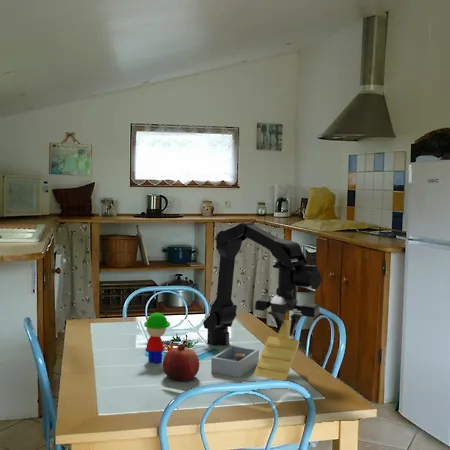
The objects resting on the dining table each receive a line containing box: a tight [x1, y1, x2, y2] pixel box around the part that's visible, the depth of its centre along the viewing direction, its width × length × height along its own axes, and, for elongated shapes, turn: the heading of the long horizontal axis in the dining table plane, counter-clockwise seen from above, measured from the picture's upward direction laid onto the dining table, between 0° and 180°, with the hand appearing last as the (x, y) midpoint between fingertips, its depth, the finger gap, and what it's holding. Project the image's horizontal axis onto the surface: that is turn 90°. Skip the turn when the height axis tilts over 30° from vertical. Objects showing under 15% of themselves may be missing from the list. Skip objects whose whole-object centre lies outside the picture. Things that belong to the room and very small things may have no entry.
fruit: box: [162, 343, 200, 382], centre depth 161 cm, size 11×10×10 cm
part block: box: [235, 353, 245, 361], centre depth 173 cm, size 3×3×3 cm
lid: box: [253, 319, 300, 381], centre depth 169 cm, size 20×10×2 cm
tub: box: [210, 345, 260, 378], centre depth 171 cm, size 14×9×5 cm, turn 154°
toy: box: [143, 312, 171, 364], centre depth 177 cm, size 8×8×15 cm
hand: (286, 335), depth 174 cm, fingers closed on lid, 3 cm apart
